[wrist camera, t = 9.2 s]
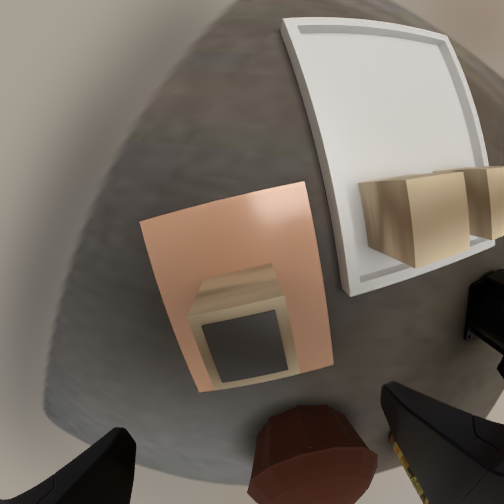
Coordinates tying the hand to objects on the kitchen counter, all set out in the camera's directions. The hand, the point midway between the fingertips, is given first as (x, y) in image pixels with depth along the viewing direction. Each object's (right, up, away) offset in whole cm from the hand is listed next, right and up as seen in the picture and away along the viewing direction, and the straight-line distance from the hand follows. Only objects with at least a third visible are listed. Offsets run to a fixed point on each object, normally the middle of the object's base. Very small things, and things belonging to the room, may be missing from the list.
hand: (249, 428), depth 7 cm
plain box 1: (+10, +9, +10) cm, 17 cm away
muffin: (+5, -12, +15) cm, 20 cm away
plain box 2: (+17, +10, +10) cm, 22 cm away
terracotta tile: (0, +2, +12) cm, 12 cm away
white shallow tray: (+12, +14, +10) cm, 21 cm away
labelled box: (0, +2, +11) cm, 11 cm away
